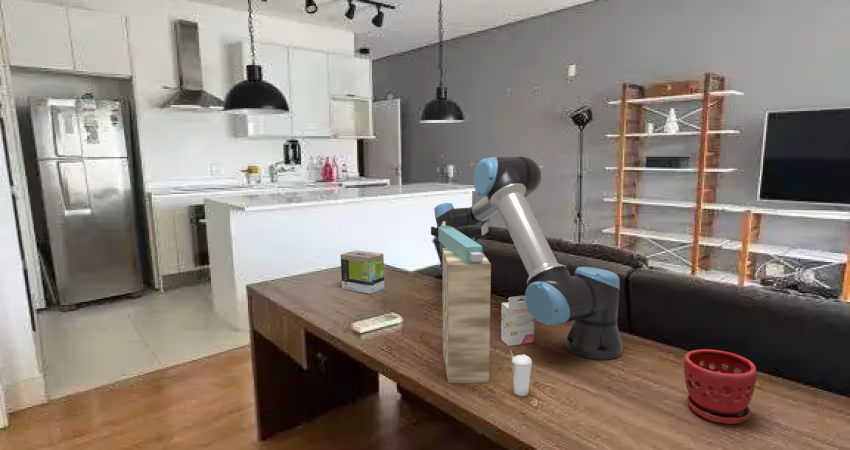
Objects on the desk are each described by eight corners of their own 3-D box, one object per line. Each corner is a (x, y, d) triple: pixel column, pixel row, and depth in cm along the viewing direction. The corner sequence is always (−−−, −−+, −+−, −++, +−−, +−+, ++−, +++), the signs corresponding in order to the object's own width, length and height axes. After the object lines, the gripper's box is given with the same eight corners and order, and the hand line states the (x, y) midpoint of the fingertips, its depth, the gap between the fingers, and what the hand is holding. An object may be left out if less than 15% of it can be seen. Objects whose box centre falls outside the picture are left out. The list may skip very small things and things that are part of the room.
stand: (442, 351, 134) (442, 248, 128) (477, 350, 134) (478, 247, 129) (448, 383, 116) (448, 264, 111) (489, 382, 116) (490, 263, 111)
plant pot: (724, 395, 109) (729, 346, 107) (766, 428, 96) (773, 374, 94) (668, 396, 109) (672, 347, 107) (703, 430, 96) (709, 375, 94)
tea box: (385, 288, 193) (384, 253, 191) (369, 295, 185) (368, 258, 183) (357, 283, 201) (355, 249, 199) (341, 289, 193) (339, 253, 190)
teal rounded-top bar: (437, 239, 140) (437, 226, 140) (450, 238, 141) (450, 225, 140) (469, 266, 109) (469, 249, 108) (486, 265, 110) (486, 248, 109)
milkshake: (514, 385, 115) (515, 346, 113) (534, 392, 112) (535, 352, 110) (504, 392, 111) (505, 352, 110) (525, 400, 108) (526, 359, 106)
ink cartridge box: (526, 336, 144) (527, 290, 141) (534, 342, 139) (535, 294, 137) (500, 339, 142) (501, 292, 139) (507, 346, 137) (508, 297, 134)
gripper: (489, 250, 169) (505, 238, 148) (420, 249, 166) (426, 237, 146) (489, 230, 170) (504, 215, 150) (420, 228, 168) (426, 213, 148)
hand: (465, 226), depth 148 cm, fingers open, 13 cm apart
